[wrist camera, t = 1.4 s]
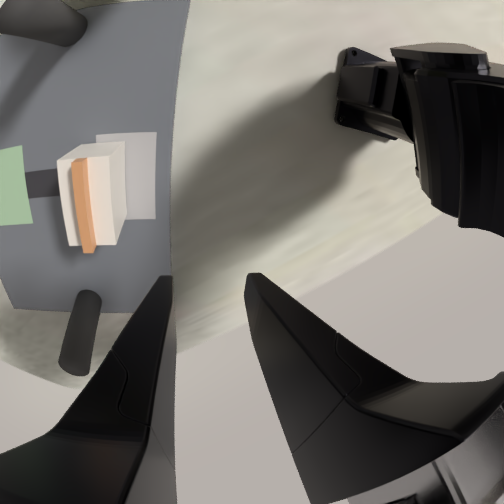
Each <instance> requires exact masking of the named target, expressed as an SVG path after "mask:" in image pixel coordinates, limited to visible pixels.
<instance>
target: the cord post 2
mask: <svg viewBox="0 0 504 504" xmlns="http://www.w3.org/2000/svg"><path fill="white" fill-rule="evenodd" d="M101 306H102V299H101V297H100V296H99V295H98V294H97V293H96V292H94V291H92V290H87V289H86V290H81V291H80V292H79V293H78V294H77V297H76V300H75V303H74V306H73V309H72V313H71V316H70V319H69V323H68V326H67V329H66V333H65V337H64V340H63V344H62V348H61V352H60V356H59V361H58V363H59V365H60V367H61V368H62V369H63V370H64V371H66V372H68V373H70V374H72V375H75V376H86V375H88V374H89V370H90V364H91V357H92V351H93V345H94V340H95V334H96V329H97V324H98V320H99V315H100V310H101Z"/></svg>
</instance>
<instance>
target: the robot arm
mask: <svg viewBox="0 0 504 504" xmlns="http://www.w3.org/2000/svg"><path fill="white" fill-rule="evenodd" d="M390 50H391V53H392V56H393V57H395V61H396V62H387V61H385V60H383V59H381V58H379V57H377V56H374V55H372V54H370V53H368V52H365V51H363V50H360V49H358V48H355V47H350V48H347V50H346V54H345V60H344V66H343V67H342V70H341V75H340V81H339V87H338V93H337V98H338V101H337V106H336V111H335V117H334V120H335V122H336V123H337V124H338V125H342V126H346V127H350V128H353V129H357V130H361V131H365V132H368V133H372V134H375V135H379V136H382V137H385V138H388V139H392V140H397V139H398V138H399V139H402V140H405V141H407V142H410V143H412V144H414V150H415V157H416V167H415V170H416V175H417V177H418V178H419V179H420V184H421V188H422V190H423V191H424V192H425V193H426V195H427V196H428V197H429V198H430V199H431V204H432V206H434V207H435V208H437V209H439V210H440V211H442V212H443V213H445V214H448V215H450V216H453V217H455V218H458V226H459V227H461V228H478V229H482V230H486V231H490V232H493V233H495V234H498V235H500V236H502V237H504V65H502V64H497V63H491V62H488V57H487V53H486V52H484V51H482V50H479V49H476V48H474V47H471V46H468V45H465V44H457V43H426V44H416V45H408V46H400V47H393V48H390ZM352 51H353V52H354V56H353V55H352ZM341 116H342V117H343V120H342V121H340V117H341ZM244 300H245V306H246V311H247V317H248V322H249V327H250V332H251V337H252V341H253V344H254V348H255V351H256V354H257V356H258V359H259V363H260V366H261V369H262V371H263V375H264V378H265V380H266V383H267V386H268V389H269V392H270V395H271V398H272V400H273V403H274V406H275V409H276V412H277V415H278V418H279V420H280V423H281V426H282V429H283V431H284V434H285V437H286V440H287V442H288V445H289V448H290V450H291V453H292V456H293V459H294V462H295V464H296V467H297V469H298V472H299V475H300V477H301V480H302V483H303V485H304V488H305V490H306V493H307V496H308V498H309V500H310V503H311V504H329V503H333V502H336V501H340V500H343V499H346V498H347V499H348V502H349V504H504V372H500V373H499V374H497V375H496V376H495V377H494V378H493V379H490V380H486V381H480V382H460V383H459V382H457V383H428V382H419V381H416V380H413V379H410V378H408V377H406V376H404V375H402V374H401V373H399V372H397V371H396V370H394V369H392V368H391V367H389V366H387V365H386V364H384V363H383V362H381V361H379V360H378V359H376V358H374V357H373V356H371V355H370V354H368V353H367V352H365V351H363V350H362V349H360V348H359V347H358V346H356V345H355V344H353V343H352V342H351V341H349V340H348V339H346V338H345V337H344V336H343V335H341V334H340V333H337V332H336V330H335V329H333V328H332V327H331V326H329V325H328V324H327V323H325V322H324V321H323V320H321V319H320V318H319V317H317V316H316V315H315V314H314V313H312V312H311V311H310V310H308V309H307V308H306V307H304V306H303V305H302V304H300V303H299V302H298V301H297V300H295V299H294V298H293V297H291V296H290V295H289V294H288V293H286V292H285V291H284V290H282V289H281V288H280V287H278V286H277V285H276V284H275V283H273V282H272V281H271V280H269V279H268V278H267V277H266V276H264V275H263V274H262V273H249V274H248V275H247V278H246V284H245V291H244ZM176 347H177V343H176V325H175V307H174V287H173V276H172V275H160V276H159V277H158V278H157V280H156V281H155V283H154V284H153V286H152V287H151V288H150V290H149V291H148V293H147V294H146V296H145V297H144V299H143V300H142V302H141V303H140V305H139V306H138V308H137V309H136V311H135V312H134V314H133V315H132V317H131V318H130V320H129V321H128V323H127V324H126V326H125V327H124V329H123V330H122V332H121V334H120V335H119V337H118V338H117V340H116V341H115V343H114V345H113V346H112V348H111V350H110V351H109V352H108V354H107V356H106V357H105V359H104V361H103V362H102V364H101V365H100V367H99V368H98V370H97V371H96V373H95V374H94V376H93V377H92V378H91V380H90V381H89V382H88V384H87V385H86V386H85V388H84V389H83V390H82V392H81V393H80V394H79V396H78V397H77V398H76V399H75V401H74V402H73V403H72V405H71V406H70V407H69V409H68V410H67V411H66V413H65V414H64V416H63V417H62V418H61V419H60V421H59V422H58V423H57V424H56V425H55V426H54V427H53V428H52V429H51V430H50V431H49V432H47V433H46V434H44V435H43V436H40V437H38V438H36V439H34V440H32V441H29V442H27V443H25V444H23V445H20V446H18V447H16V448H13V449H11V450H9V451H6V452H4V453H1V454H0V504H177V495H176V476H175V446H174V403H175V402H174V401H175V398H174V397H175V369H176Z"/></svg>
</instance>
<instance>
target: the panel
mask: <svg viewBox="0 0 504 504" xmlns="http://www.w3.org/2000/svg"><path fill="white" fill-rule="evenodd" d="M189 7H190V0H145V1H132V2H122V3H114V4H106V5H100V6H94V7H89V8H84V9H79V10H76V11H77V12H79V13H80V14H82V15H83V16H85V17H86V19H87V29H86V32H85V34H84V35H83V37H82V38H81V39H80V40H79V41H78V42H76V43H75V44H73V45H71V46H68V47H62V46H58V45H54V44H50V43H46V42H42V41H38V40H33V39H29V38H24V37H18V36H13V35H7V34H2V35H0V278H1V280H2V283H3V285H4V288H5V290H6V292H7V295H8V297H9V299H10V301H11V303H12V305H13V307H14V308H16V309H29V310H44V311H64V312H72V309H73V306H74V303H75V300H76V297H77V294H78V293H79V292H80V291H81V290H86V289H87V290H92V291H94V292H96V293H97V294H98V295H99V296H100V297H101V299H102V306H101V310H100V313H134V312H135V311H136V309H137V308H138V306H139V305H140V303H141V302H142V300H143V299H144V297H145V296H146V294H147V293H148V291H149V290H150V288H151V287H152V286H153V284H154V283H155V281H156V280H157V278H158V277H159V276H160V275H171V246H170V189H171V160H172V142H173V127H174V114H175V103H176V93H177V84H178V76H179V68H180V61H181V54H182V47H183V40H184V34H185V29H186V23H187V17H188V12H189ZM119 141H125V189H126V208H127V215H126V218H125V221H124V223H123V226H122V229H121V232H120V235H119V238H118V241H117V244H116V245H97V246H96V248H95V250H94V253H83V248H82V246H69V242H68V237H67V233H66V227H65V222H64V216H63V210H62V204H61V197H60V189H59V180H58V170H57V160H58V159H60V158H61V157H63V156H64V155H66V154H67V153H69V152H70V151H72V150H73V149H75V148H76V147H78V146H80V145H81V144H90V143H103V142H119Z"/></svg>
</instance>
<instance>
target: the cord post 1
mask: <svg viewBox="0 0 504 504" xmlns="http://www.w3.org/2000/svg"><path fill="white" fill-rule="evenodd" d="M86 29H87V19H86V17H85V16H83V15H82V14H80V13H79V12H77V11H76V10H74V9H73V8H71V7H70V6H68V5H66V4H65V3H63V2H62V1H60V0H6V1H5V2H4V4H3V5H2V7H1V8H0V33H1V34H7V35H13V36H18V37H24V38H29V39H33V40H38V41H42V42H46V43H50V44H54V45H58V46H62V47H68V46H71V45H73V44H75V43H76V42H78V41H79V40H80V39H81V38H82V37H83V35H84V34H85V32H86Z"/></svg>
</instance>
